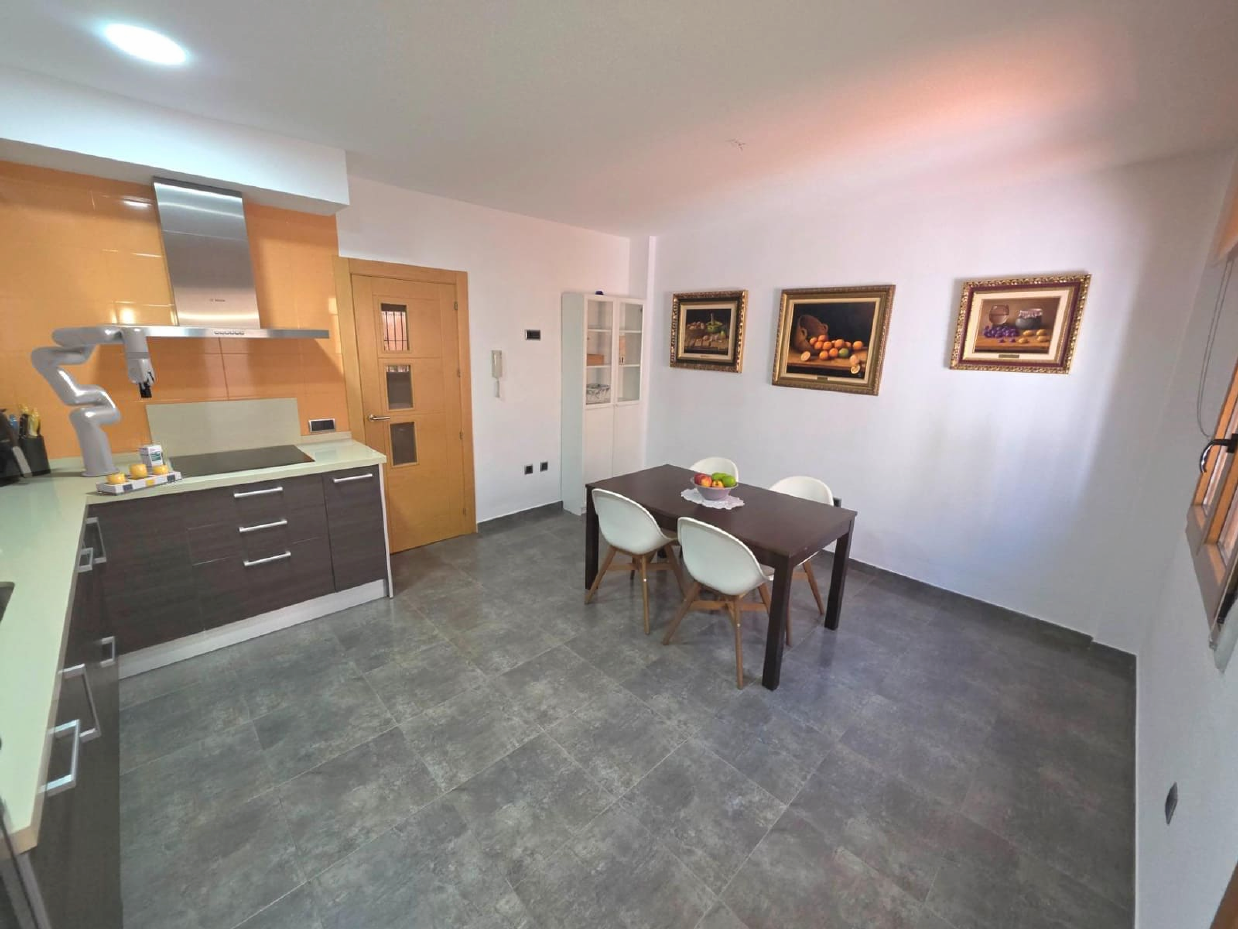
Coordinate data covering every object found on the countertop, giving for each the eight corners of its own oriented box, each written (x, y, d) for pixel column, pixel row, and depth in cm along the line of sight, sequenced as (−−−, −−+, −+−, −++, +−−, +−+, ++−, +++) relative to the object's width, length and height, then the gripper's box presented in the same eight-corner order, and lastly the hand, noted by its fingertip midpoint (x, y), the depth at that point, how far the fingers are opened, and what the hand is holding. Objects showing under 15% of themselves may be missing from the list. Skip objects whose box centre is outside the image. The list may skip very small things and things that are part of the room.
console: (97, 492, 205) (95, 483, 204) (163, 478, 228) (161, 469, 227) (117, 495, 202) (115, 486, 201) (182, 480, 224) (180, 472, 223)
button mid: (128, 479, 212) (125, 466, 211) (142, 476, 217) (139, 463, 216) (137, 480, 211) (133, 467, 209) (151, 477, 216) (148, 464, 214)
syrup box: (154, 477, 228) (148, 447, 225) (144, 476, 229) (137, 446, 226) (167, 474, 234) (161, 444, 230) (157, 473, 235) (151, 444, 231)
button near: (106, 489, 205) (103, 475, 204) (121, 486, 210) (118, 472, 209) (115, 491, 204) (111, 477, 202) (130, 487, 209) (127, 474, 207)
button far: (151, 480, 220) (148, 467, 219) (164, 477, 225) (161, 464, 224) (159, 481, 219) (156, 468, 217) (172, 478, 224) (170, 465, 222)
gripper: (115, 355, 215) (125, 397, 220) (139, 356, 211) (148, 399, 216) (136, 355, 222) (145, 396, 227) (159, 356, 218) (167, 397, 223)
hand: (146, 397), depth 221 cm, fingers closed
